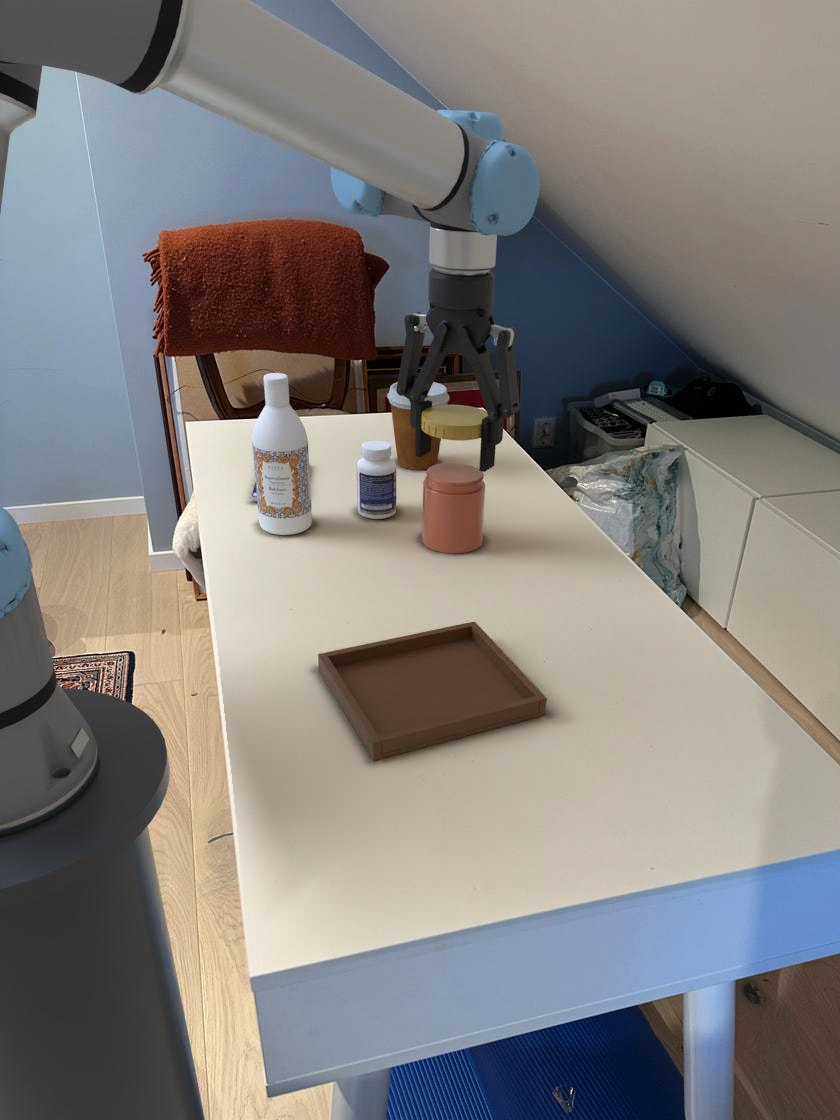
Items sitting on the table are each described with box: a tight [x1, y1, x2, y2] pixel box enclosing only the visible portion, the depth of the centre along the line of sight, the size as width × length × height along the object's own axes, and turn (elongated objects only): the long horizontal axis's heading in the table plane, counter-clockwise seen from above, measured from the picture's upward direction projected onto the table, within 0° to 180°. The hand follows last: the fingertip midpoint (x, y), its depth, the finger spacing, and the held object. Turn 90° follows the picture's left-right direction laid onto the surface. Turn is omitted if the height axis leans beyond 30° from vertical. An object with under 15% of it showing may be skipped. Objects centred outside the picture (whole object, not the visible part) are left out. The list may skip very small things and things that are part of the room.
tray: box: [317, 621, 548, 761], centre depth 88 cm, size 18×16×2 cm
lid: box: [421, 404, 488, 441], centre depth 110 cm, size 9×9×2 cm
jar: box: [421, 462, 486, 554], centre depth 116 cm, size 8×8×10 cm
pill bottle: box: [356, 440, 397, 520], centre depth 122 cm, size 5×5×10 cm
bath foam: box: [251, 372, 313, 536], centre depth 114 cm, size 7×7×20 cm
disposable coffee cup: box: [386, 381, 450, 471], centre depth 139 cm, size 10×10×12 cm
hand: (454, 460), depth 113 cm, fingers closed on lid, 8 cm apart
